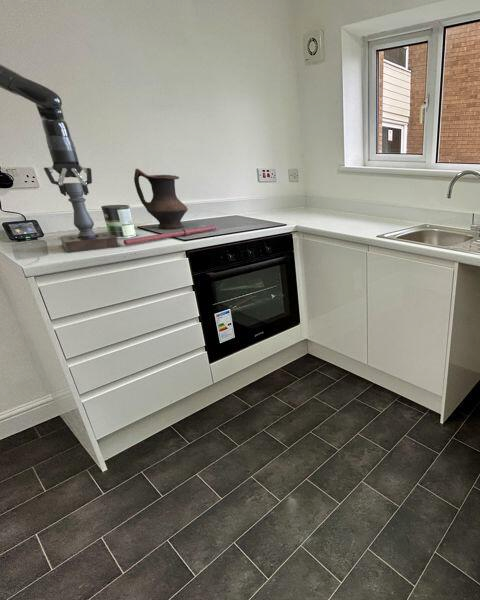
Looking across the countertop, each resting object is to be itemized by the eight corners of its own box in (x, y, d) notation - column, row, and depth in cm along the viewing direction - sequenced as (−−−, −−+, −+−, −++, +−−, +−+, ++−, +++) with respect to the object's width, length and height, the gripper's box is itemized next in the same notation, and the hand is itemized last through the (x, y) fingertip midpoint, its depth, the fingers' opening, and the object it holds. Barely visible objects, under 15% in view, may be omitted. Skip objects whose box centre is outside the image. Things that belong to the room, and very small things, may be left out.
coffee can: (110, 239, 159) (101, 207, 154) (108, 235, 166) (100, 205, 161) (138, 237, 165) (130, 206, 160) (135, 233, 172) (127, 204, 167)
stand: (68, 252, 136) (65, 242, 135) (62, 245, 146) (59, 236, 144) (118, 246, 147) (116, 237, 146) (110, 240, 157) (108, 231, 156)
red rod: (213, 230, 187) (212, 224, 186) (217, 230, 186) (216, 224, 185) (123, 245, 148) (121, 238, 147) (128, 246, 147) (126, 239, 146)
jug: (187, 223, 203) (177, 168, 192) (193, 228, 190) (183, 169, 179) (143, 226, 191) (130, 167, 180) (147, 231, 177) (132, 169, 166)
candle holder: (99, 243, 150) (82, 182, 141) (100, 246, 146) (82, 183, 137) (80, 245, 147) (62, 182, 138) (80, 248, 142) (61, 183, 133)
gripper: (85, 150, 140) (96, 194, 146) (35, 148, 130) (49, 195, 136) (88, 150, 136) (100, 195, 142) (36, 148, 126) (52, 196, 132)
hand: (75, 195), depth 139 cm, fingers closed on candle holder, 5 cm apart
